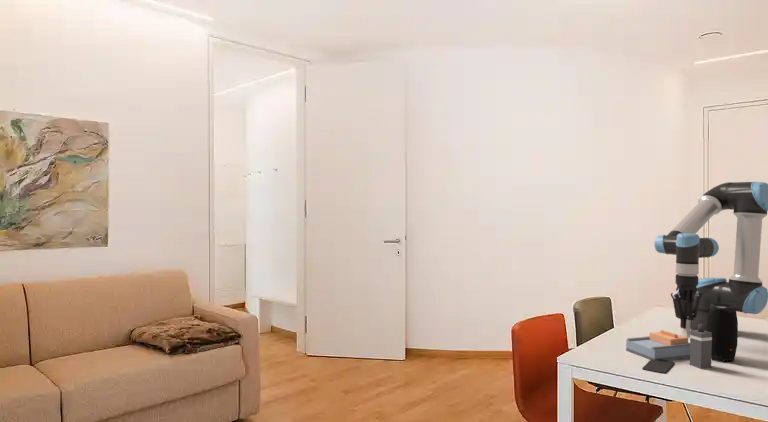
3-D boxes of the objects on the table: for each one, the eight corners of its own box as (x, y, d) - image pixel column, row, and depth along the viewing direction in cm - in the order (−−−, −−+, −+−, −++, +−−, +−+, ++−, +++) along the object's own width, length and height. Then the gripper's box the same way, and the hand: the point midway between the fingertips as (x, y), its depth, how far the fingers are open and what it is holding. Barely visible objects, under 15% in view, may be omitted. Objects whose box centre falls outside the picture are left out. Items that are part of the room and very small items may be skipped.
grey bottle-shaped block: (699, 363, 190) (700, 322, 190) (711, 367, 186) (712, 325, 185) (689, 364, 189) (690, 323, 189) (700, 368, 185) (701, 326, 184)
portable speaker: (740, 364, 190) (741, 308, 189) (710, 361, 193) (711, 306, 192) (732, 356, 198) (733, 303, 198) (703, 354, 201) (704, 302, 200)
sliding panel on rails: (668, 346, 212) (668, 334, 212) (698, 356, 199) (699, 343, 198) (626, 350, 206) (626, 337, 206) (654, 361, 193) (654, 347, 193)
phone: (641, 368, 184) (652, 357, 195) (641, 370, 184) (652, 360, 195) (665, 373, 179) (675, 361, 191) (665, 375, 179) (675, 364, 191)
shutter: (666, 337, 209) (666, 328, 209) (688, 344, 200) (688, 335, 199) (649, 339, 207) (649, 330, 207) (670, 346, 197) (670, 336, 197)
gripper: (692, 272, 210) (691, 333, 211) (665, 273, 206) (664, 335, 207) (709, 275, 203) (707, 338, 204) (681, 276, 199) (680, 340, 200)
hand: (685, 336), depth 205 cm, fingers closed
